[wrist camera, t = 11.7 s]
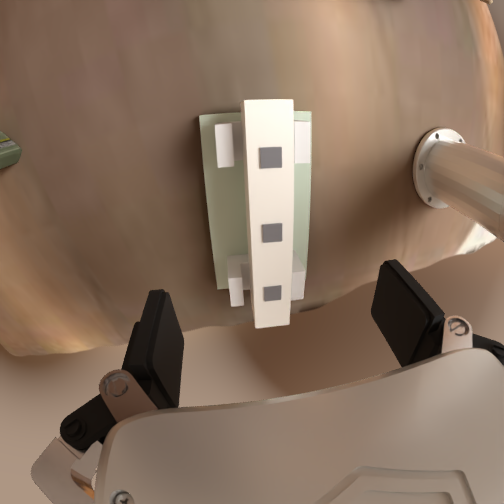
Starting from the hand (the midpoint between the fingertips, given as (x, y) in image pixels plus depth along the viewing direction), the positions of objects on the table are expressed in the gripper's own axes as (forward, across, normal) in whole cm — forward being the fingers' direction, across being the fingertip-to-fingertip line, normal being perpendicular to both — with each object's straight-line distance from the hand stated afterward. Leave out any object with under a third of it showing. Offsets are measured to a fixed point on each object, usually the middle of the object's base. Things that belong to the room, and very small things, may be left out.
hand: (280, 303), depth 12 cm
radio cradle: (+23, -2, +4) cm, 23 cm away
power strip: (+19, -2, +4) cm, 20 cm away
